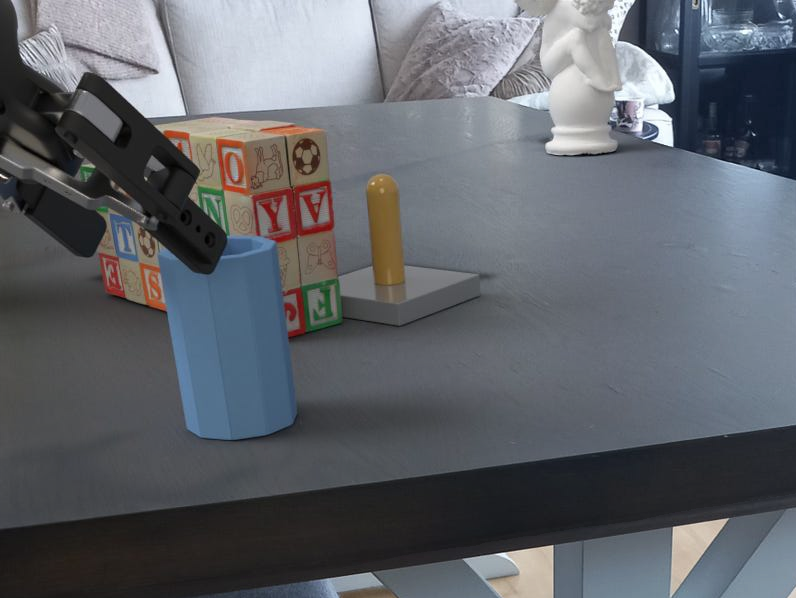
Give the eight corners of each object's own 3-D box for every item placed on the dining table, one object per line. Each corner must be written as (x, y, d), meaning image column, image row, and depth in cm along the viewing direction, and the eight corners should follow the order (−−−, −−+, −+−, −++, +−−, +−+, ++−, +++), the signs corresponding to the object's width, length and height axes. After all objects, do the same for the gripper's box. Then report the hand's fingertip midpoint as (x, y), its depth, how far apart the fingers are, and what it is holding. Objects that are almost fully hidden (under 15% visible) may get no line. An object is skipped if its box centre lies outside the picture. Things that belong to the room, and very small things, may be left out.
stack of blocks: (102, 295, 91) (68, 118, 85) (175, 279, 94) (147, 109, 88) (269, 344, 77) (243, 137, 71) (346, 322, 81) (327, 124, 75)
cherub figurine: (631, 154, 142) (634, -61, 131) (529, 163, 139) (524, -56, 129) (597, 142, 152) (597, -59, 141) (502, 150, 150) (495, -53, 139)
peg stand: (300, 310, 84) (285, 180, 80) (383, 282, 90) (374, 160, 86) (399, 326, 79) (389, 189, 75) (480, 295, 86) (475, 167, 81)
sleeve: (164, 428, 63) (133, 254, 59) (245, 397, 68) (221, 231, 63) (239, 447, 60) (212, 264, 56) (319, 413, 65) (299, 240, 60)
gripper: (11, -117, 40) (295, 190, 53) (-204, -90, 48) (92, 172, 61) (-93, 74, 39) (224, 338, 52) (-296, 71, 46) (26, 302, 60)
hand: (152, 249), depth 57 cm, fingers open, 8 cm apart
